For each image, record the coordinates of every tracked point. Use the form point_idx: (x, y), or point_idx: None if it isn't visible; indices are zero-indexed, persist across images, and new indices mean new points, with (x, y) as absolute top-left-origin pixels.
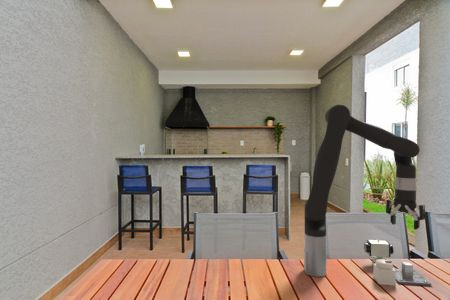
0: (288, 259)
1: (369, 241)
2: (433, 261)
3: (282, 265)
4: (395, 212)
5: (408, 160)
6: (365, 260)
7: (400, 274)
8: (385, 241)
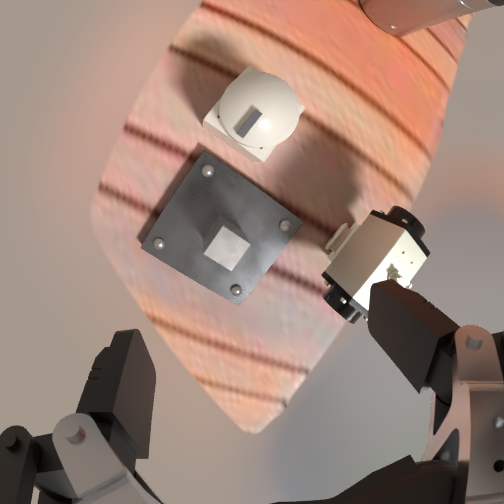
0: (464, 45)
1: (417, 244)
2: (258, 410)
3: None
4: (460, 392)
5: None
6: None
7: (240, 217)
8: None
